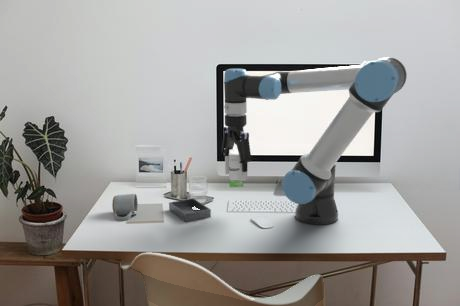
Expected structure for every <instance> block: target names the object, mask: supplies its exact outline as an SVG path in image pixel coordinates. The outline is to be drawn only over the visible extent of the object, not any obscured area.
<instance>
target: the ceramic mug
mask: <svg viewBox="0 0 460 306" xmlns="http://www.w3.org/2000/svg"><path fill="white" fill-rule="evenodd" d="M111 205H112V212H113V214H114V216H115V219H116V220H118V221H120V222H121V221H127V220H129V219H130V218H131V217H132V216H136V215H135V212H134V211H137V212H138V206H139V205H138V196H137V194H136V193H128V194H127V193H126V194H117V195H114V196H113V197H112V204H111ZM121 216H123V217H121ZM128 218H129V219H128Z"/></svg>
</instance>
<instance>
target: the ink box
mask: <svg viewBox="0 0 460 306" xmlns="http://www.w3.org/2000/svg"><path fill="white" fill-rule="evenodd" d="M240 161H241V160H240V156H239V152H238V149H235V148H233V149H229V174H228V181H229V183H228V185H229V188H243V187H244V181H240V176H239V162H240Z"/></svg>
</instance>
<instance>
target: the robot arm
mask: <svg viewBox="0 0 460 306" xmlns="http://www.w3.org/2000/svg"><path fill="white" fill-rule="evenodd" d="M407 75H408V73H407V70H406V67H405V65H404V64H403V63H402V62H401V61H400V60H399V59H397V58H395V57H390V56H387V57H386V56H385V57H381V58H378V59H377V58H376V59H373V60H369V61H363V62H362V64H359V65H358V64H357V65H349V66H347V65H346V66H337V67H336V66H335V67H324V68H314V69H304V70H303V69H302V70H291V71H276V72H273V73H269V74H264V75H249V74H248V75H247V70H246V69H245V68H228V69H225V71H224V75H223V76H224V79H223V87H224V106H223V108H224V113H225V114H224V125H225V126H224V127H223V129H222V131H223V133H222V142H221V150H220V151H221V154H223V156H224V173H225V175H229V149H234V146H235V145H236V148H237V149H238V152H239V156H240V160H241V161H240V162H239V176H240V181H243V182H244V181H248V164H249V163H250V162H252V153H251V148H250V147H251V146H250V139H249V138H250V133H249V132H245V131H244V127H246V126H247V115H246V114H247V109H248V108H247V99H259V100H266V101H269V100H271V101H273V100H277V99H278V98H279V96H280V95H283V94H284V95H285V94H295V93H297V94H298V93H312V92H328V91H329V92H330V91H332V92H333V91H343V90H345V91H347V90H348V93H349V97H348V98H347V100H346V101H345V103H343V105H342V107H341V108H340V110H339V111H338V112H337V114H336V115H335V116H334V118H333V119H332V121H331V122H330V124H329V125H328V127H326V129H325V130H324V132H323V134H322V135H321V136H320V138H318V141H317V142H316V143H315V145H314V146H313V147H312V149H311V150H310V152H308V153H304V154H303V155H301V156H300V157H299V159H298V161H297V162H296V164H295V165H294V166H293V167H292V168H291V170H289V171H288V172H286V174H285V175H284V176H283V178H282V181H281V187H282V192H283V194H284V195H285V197H286V198H287V199H288V200H289V201H290V202H292V203H294V204H297V206H296V209H295V216H294V217H295V218H296V220H298V221H300V222H302V223H304V224H309V225H329V224H333V223H335V222H337V221H338V219H339V211H338V207H337V204H336V201H335V181H336V167H337V165H336V163H337V161H338V160H340V157H342V156H343V154H344V152H345V151H346V150H347V149H348V147H349V146H350V144H351V143H352V142H353V141H354V139H355V138H356V136H357V135H358V134H359V132H360V131H361V130H362V128H363V127H364V125H365V124H366V123H367V121H368V120H369V119H370V117H371V116H372V115H373V114H374V113H379V112H381V111H383V109H384V107H385V106H386V104H388V102H389V101H390V100H391V98H392V96H394V95H395V94H396V93H399V91H401V90H402V88H403V87H404V86H405V83H406V81H407V77H408V76H407Z"/></svg>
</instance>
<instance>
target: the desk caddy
mask: <svg viewBox="0 0 460 306" xmlns="http://www.w3.org/2000/svg"><path fill="white" fill-rule="evenodd" d="M194 206H195V207H196V208H198V209H200V210H193V209H192V207H194ZM168 210H169V211H170V212H171V213H172V214H173V215H175V216H176V217H177V218H179V219H180V220H182V221H183V222H184V223H188V222H193V221H198V220H205V219H209V218H211V217H212V216H211V214H212V211H211V208H209V207H208V206H207V205H205V204H203V203H201V202H200V201H198V200H197V199H195V198H187V199H183V200H175V201H171V202H170V201H169V202H168Z"/></svg>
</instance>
